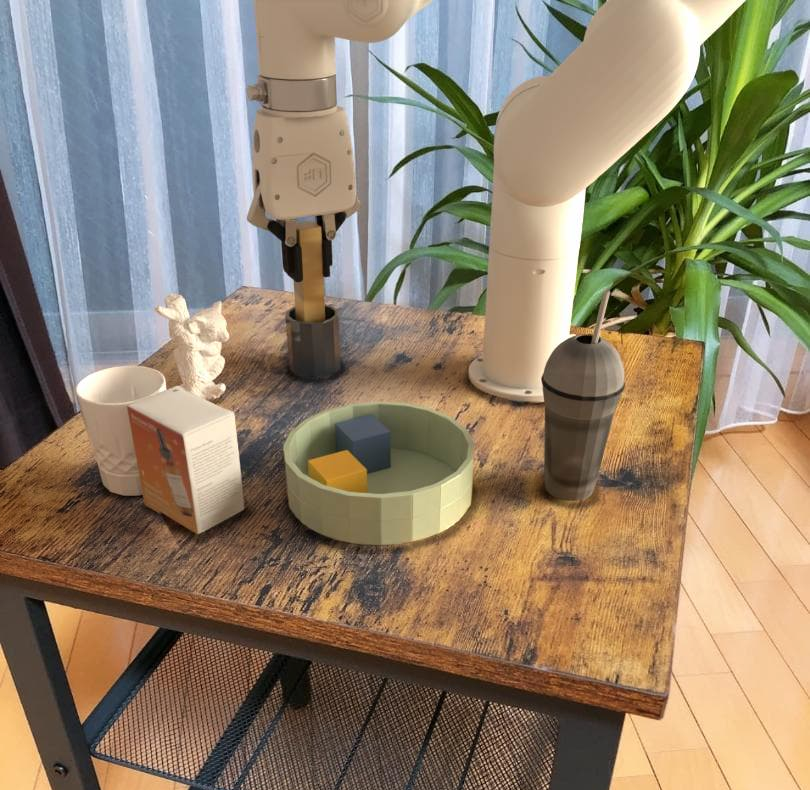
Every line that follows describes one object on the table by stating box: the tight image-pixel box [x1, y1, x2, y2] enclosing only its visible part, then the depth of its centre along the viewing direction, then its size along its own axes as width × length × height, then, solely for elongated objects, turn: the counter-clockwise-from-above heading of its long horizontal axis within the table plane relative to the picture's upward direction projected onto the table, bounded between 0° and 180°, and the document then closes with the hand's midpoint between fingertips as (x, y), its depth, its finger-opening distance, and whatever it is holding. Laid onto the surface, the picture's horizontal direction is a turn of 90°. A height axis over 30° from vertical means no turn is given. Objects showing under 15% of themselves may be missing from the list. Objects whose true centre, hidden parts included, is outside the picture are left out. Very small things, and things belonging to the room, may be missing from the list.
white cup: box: [74, 365, 167, 497], centre depth 85 cm, size 8×8×10 cm
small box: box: [127, 385, 245, 535], centre depth 81 cm, size 8×6×10 cm
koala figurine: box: [154, 292, 230, 400], centre depth 99 cm, size 8×7×12 cm
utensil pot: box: [285, 304, 342, 378], centre depth 106 cm, size 6×6×7 cm
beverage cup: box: [541, 289, 626, 502], centre depth 80 cm, size 7×7×20 cm
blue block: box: [335, 414, 391, 474], centre depth 88 cm, size 4×4×4 cm
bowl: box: [282, 400, 476, 546], centre depth 84 cm, size 17×17×6 cm
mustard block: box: [308, 450, 367, 493], centre depth 83 cm, size 4×4×4 cm
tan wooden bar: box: [292, 220, 326, 323], centre depth 102 cm, size 3×3×15 cm
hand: (308, 274), depth 101 cm, fingers closed on tan wooden bar, 2 cm apart
